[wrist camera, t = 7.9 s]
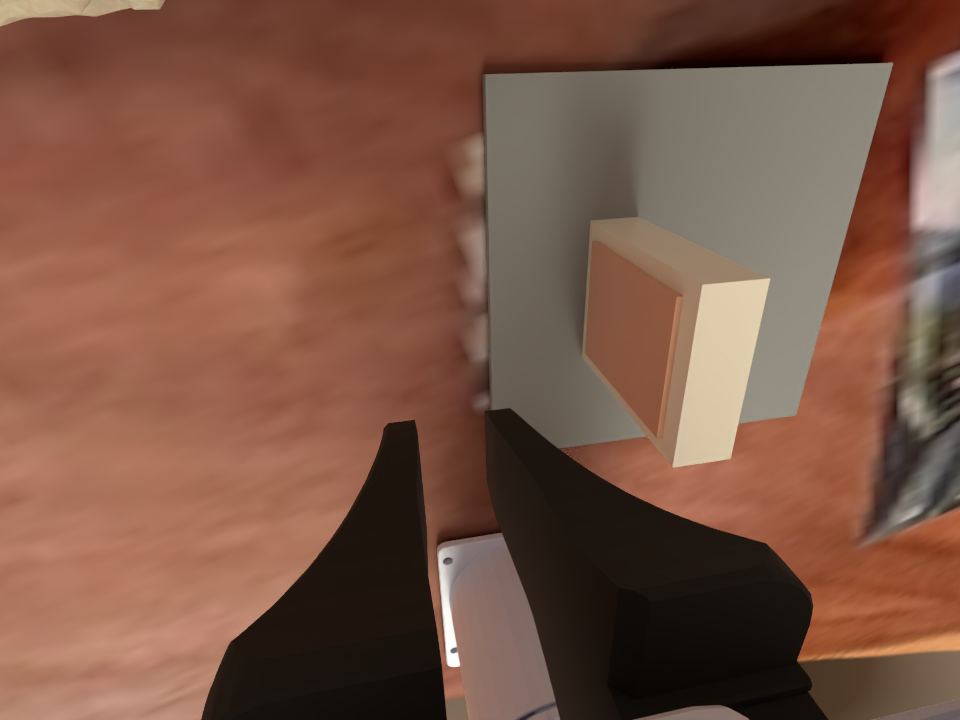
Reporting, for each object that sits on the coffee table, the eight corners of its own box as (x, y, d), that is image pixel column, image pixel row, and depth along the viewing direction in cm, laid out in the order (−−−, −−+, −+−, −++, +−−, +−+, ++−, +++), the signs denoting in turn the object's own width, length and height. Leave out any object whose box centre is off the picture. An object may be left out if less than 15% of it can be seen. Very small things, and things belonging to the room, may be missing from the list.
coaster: (624, 352, 24) (730, 458, 17) (577, 357, 24) (666, 468, 17) (638, 217, 22) (770, 278, 15) (585, 220, 21) (695, 285, 14)
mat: (789, 410, 29) (795, 415, 28) (491, 451, 26) (493, 458, 26) (882, 63, 21) (893, 62, 21) (482, 74, 19) (485, 74, 18)
